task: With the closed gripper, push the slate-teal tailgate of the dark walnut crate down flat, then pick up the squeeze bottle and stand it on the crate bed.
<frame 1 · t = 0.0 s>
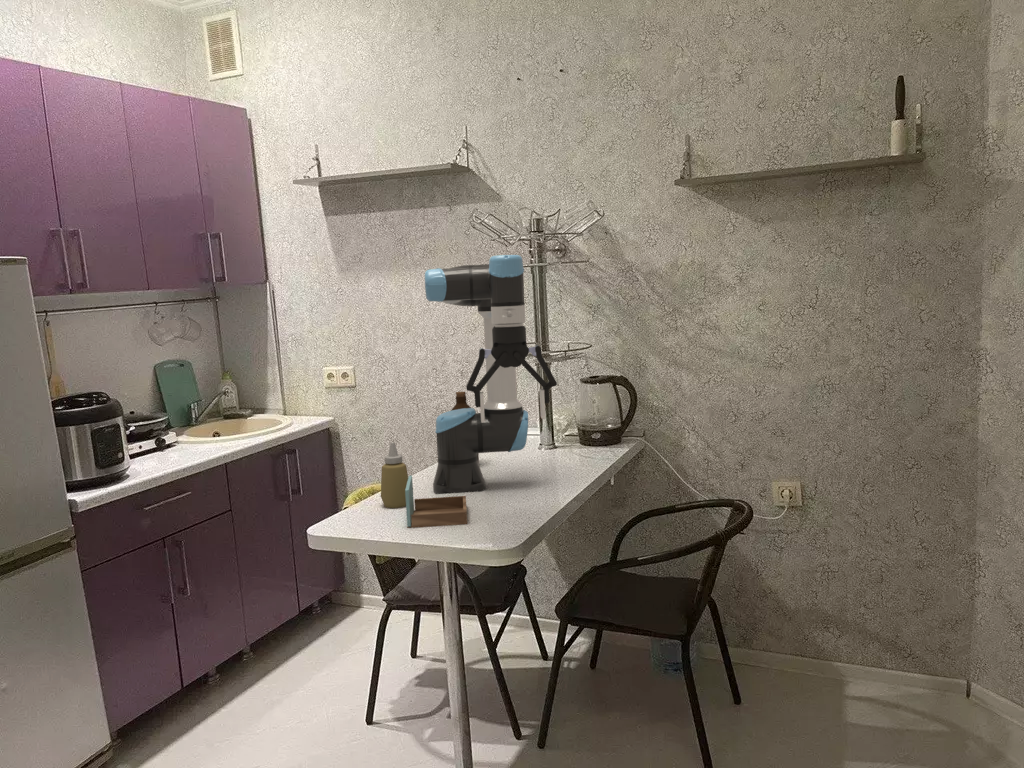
hand: (513, 419, 172), 28 cm above the table, tool pointing down, fingers open, 13 cm apart
olive oil: (465, 467, 252), on the table
squeeze bottle: (396, 509, 206), on the table
crate: (438, 520, 193), on the table
tailgate: (409, 500, 192), point 6 cm above the table, hinge at 0.0°
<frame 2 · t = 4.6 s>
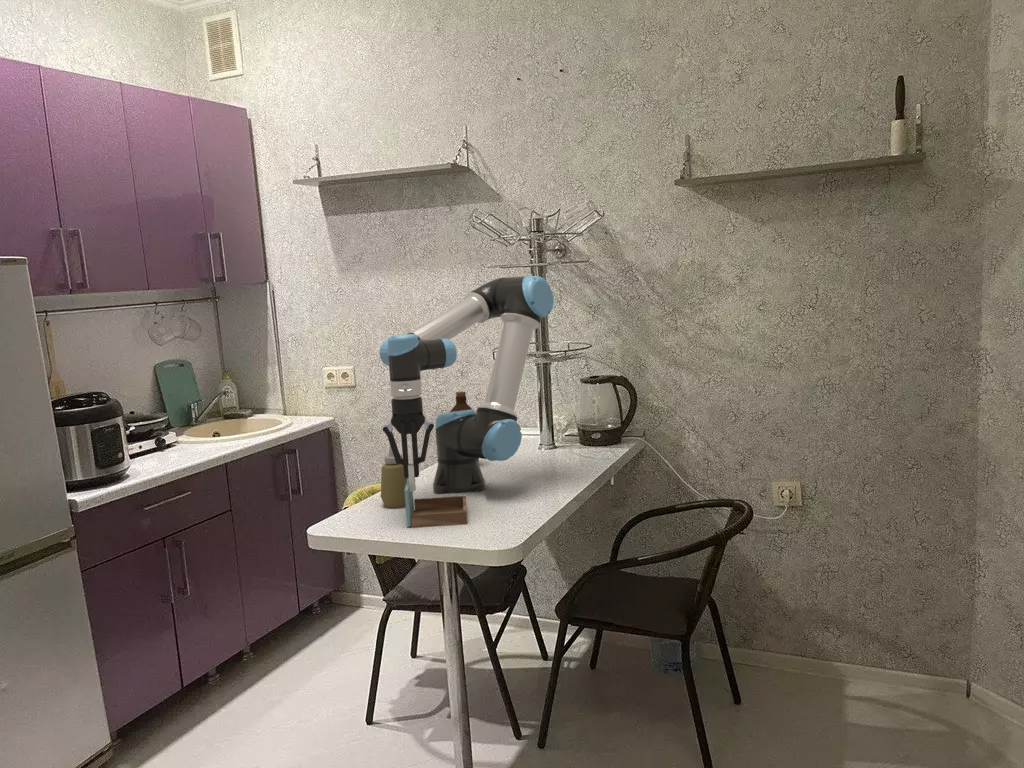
hand: (412, 489, 192), 8 cm above the table, tool pointing down, fingers closed
tailgate: (409, 500, 192), point 6 cm above the table, hinge at 1.2°, touching gripper
everything else where it was.
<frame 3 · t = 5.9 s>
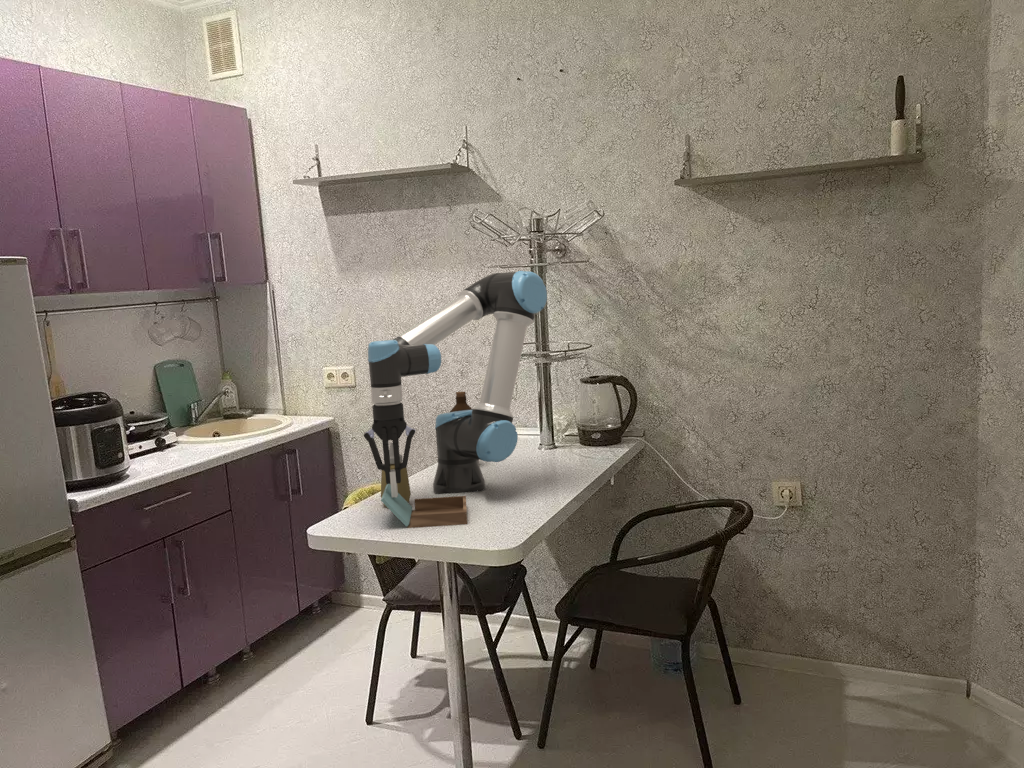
hand: (394, 495, 192), 7 cm above the table, tool pointing down, fingers closed
tailgate: (397, 504, 192), point 5 cm above the table, hinge at 39.9°, touching gripper
everything else where it was.
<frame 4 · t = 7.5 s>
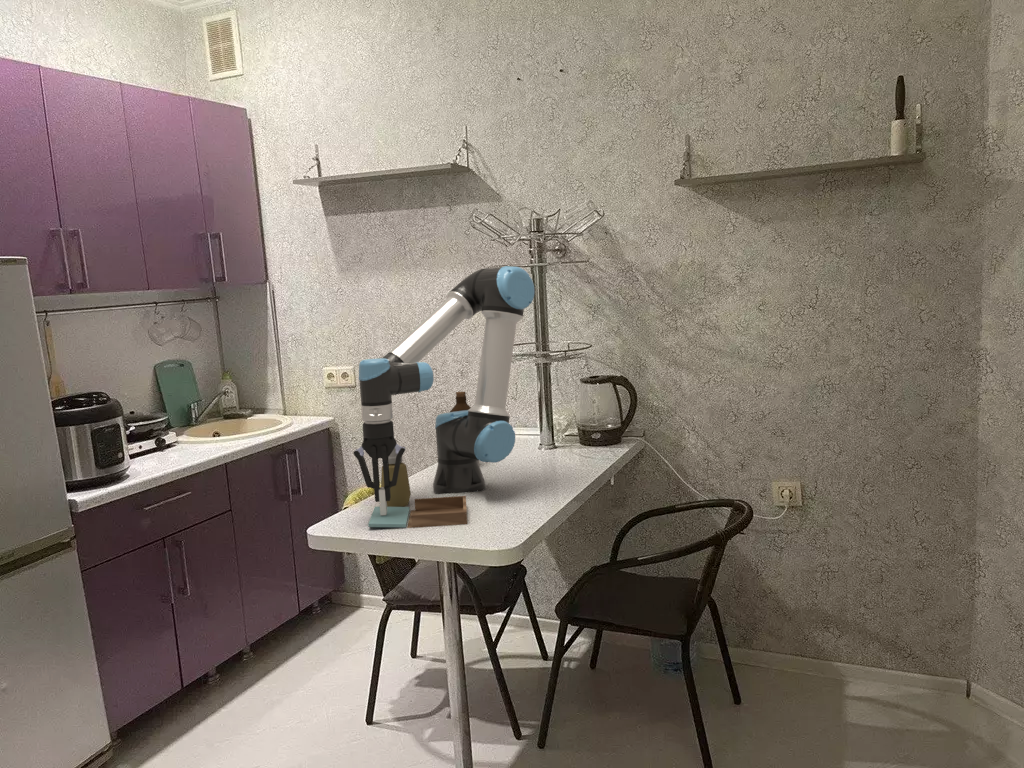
hand: (383, 513, 192), 3 cm above the table, tool pointing down, fingers closed
tailgate: (389, 516, 192), point 2 cm above the table, hinge at 85.2°
everything else where it was.
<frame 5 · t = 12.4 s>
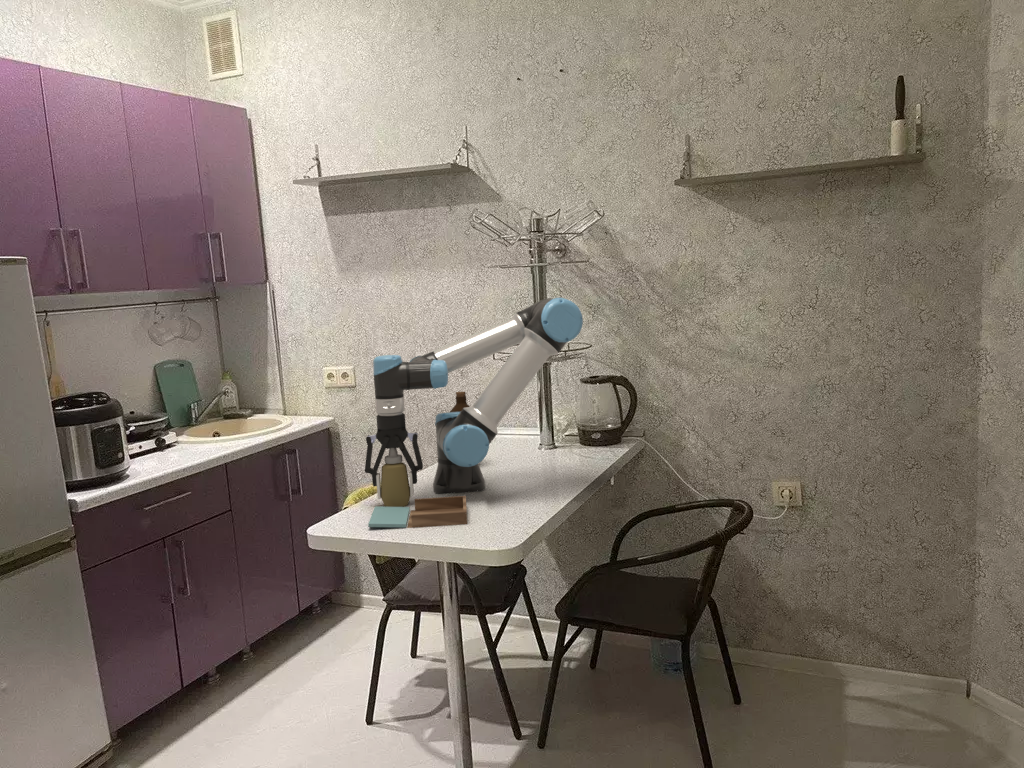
hand: (395, 496, 206), 3 cm above the table, tool pointing down, fingers closed on squeeze bottle, 8 cm apart
squeeze bottle: (396, 509, 206), on the table, touching gripper
everything else where it was.
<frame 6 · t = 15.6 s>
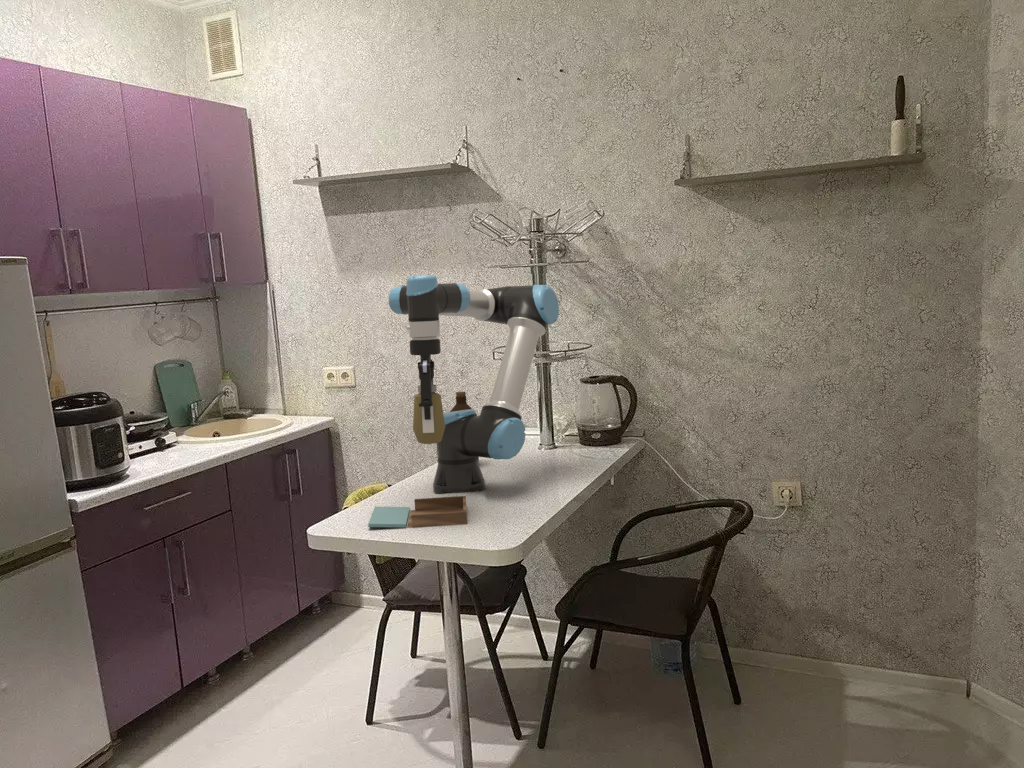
hand: (429, 429, 191), 23 cm above the table, tool pointing down, fingers closed on squeeze bottle, 8 cm apart
squeeze bottle: (429, 443, 191), point 20 cm above the table, touching gripper
everything else where it was.
when the fingers open (6 cm above the table, at t = 18.9 s): squeeze bottle drops 1 cm, resting on crate.
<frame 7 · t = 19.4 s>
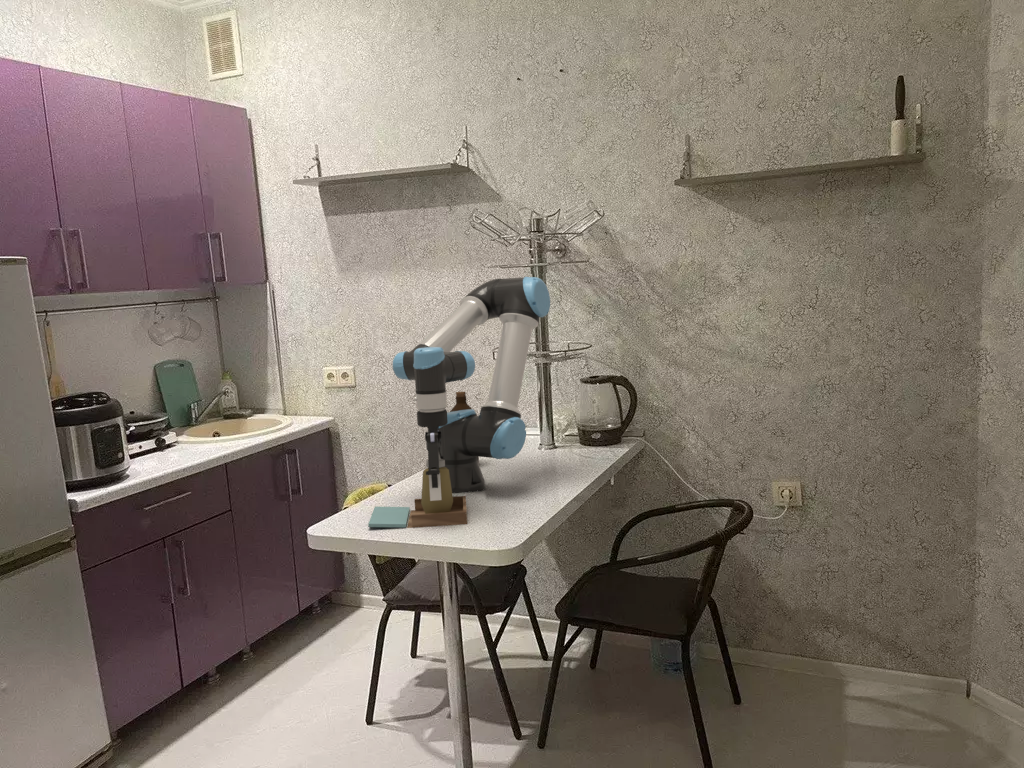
hand: (436, 493, 192), 7 cm above the table, tool pointing down, fingers open, 13 cm apart
squeeze bottle: (437, 517, 193), point 1 cm above the table, touching crate
everything else where it was.
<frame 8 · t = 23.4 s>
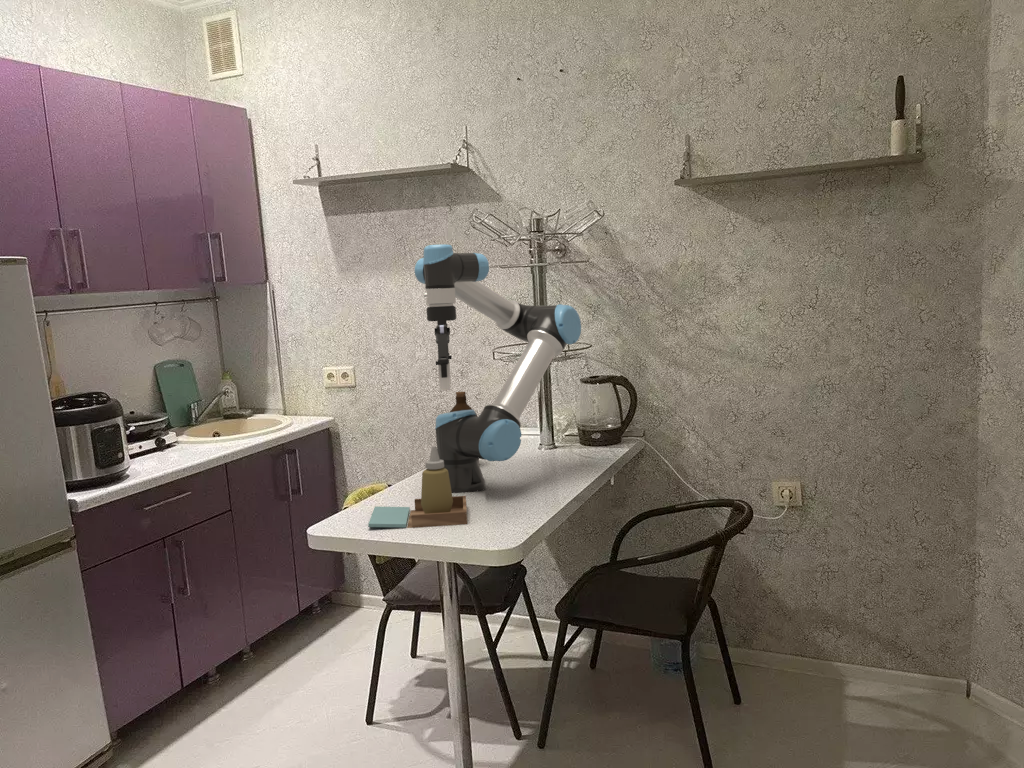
hand: (445, 387, 200), 33 cm above the table, tool pointing down, fingers open, 13 cm apart
nothing on the table moved.
at the end: tailgate at +85° (first picture: +0°); squeeze bottle inside the target area on the crate (0.1 cm from its centre), point 0.8 cm above the crate's base; squeeze bottle tilted 0° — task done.
